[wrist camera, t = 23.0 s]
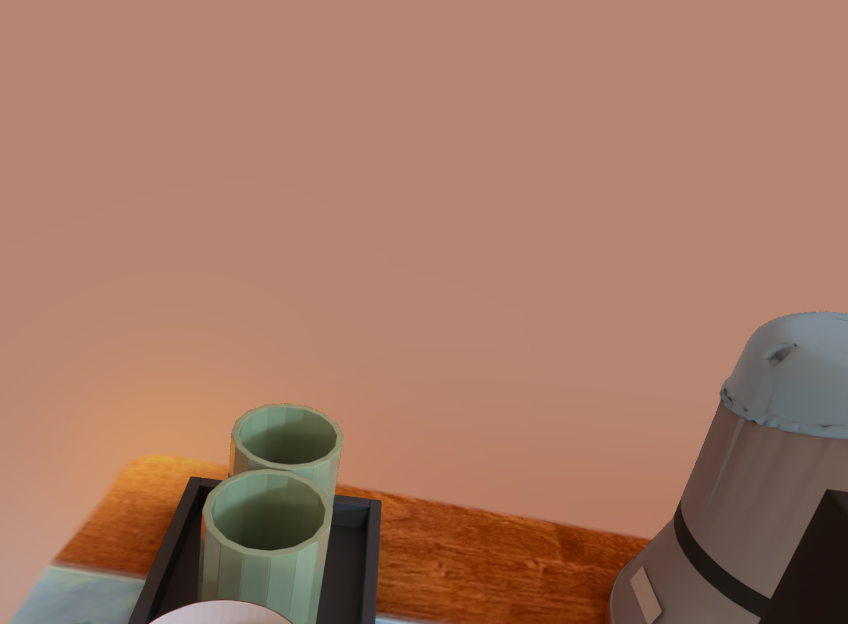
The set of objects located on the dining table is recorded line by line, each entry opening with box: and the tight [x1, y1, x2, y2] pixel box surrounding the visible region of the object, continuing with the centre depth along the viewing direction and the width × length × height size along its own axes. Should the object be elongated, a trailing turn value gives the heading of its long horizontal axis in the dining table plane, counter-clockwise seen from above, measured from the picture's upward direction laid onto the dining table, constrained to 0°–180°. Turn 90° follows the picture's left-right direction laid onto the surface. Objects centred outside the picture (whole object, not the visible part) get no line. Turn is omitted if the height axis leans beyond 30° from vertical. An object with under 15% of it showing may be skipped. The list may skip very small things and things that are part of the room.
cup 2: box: [197, 469, 333, 624], centre depth 40 cm, size 6×6×10 cm
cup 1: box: [228, 403, 343, 508], centre depth 45 cm, size 6×6×10 cm
